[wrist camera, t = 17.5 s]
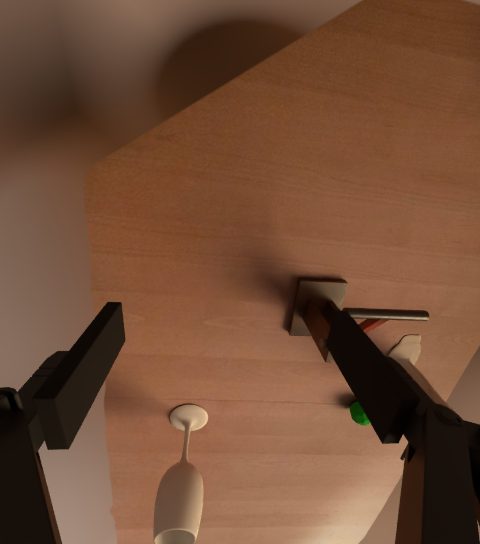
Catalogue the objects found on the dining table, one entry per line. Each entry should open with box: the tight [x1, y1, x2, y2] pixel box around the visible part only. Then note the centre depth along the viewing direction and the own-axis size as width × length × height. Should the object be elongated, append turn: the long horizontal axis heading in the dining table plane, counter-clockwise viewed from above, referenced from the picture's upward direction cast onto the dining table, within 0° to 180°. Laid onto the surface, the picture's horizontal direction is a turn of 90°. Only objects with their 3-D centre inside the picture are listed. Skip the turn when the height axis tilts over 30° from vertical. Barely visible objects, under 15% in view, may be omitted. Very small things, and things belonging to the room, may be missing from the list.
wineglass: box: [154, 405, 208, 544], centre depth 50 cm, size 9×9×21 cm
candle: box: [388, 335, 463, 420], centre depth 48 cm, size 7×14×20 cm, turn 172°
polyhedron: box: [350, 401, 370, 425], centre depth 60 cm, size 5×5×5 cm
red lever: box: [342, 308, 429, 333], centre depth 35 cm, size 14×10×2 cm
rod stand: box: [288, 278, 348, 363], centre depth 44 cm, size 12×9×13 cm
